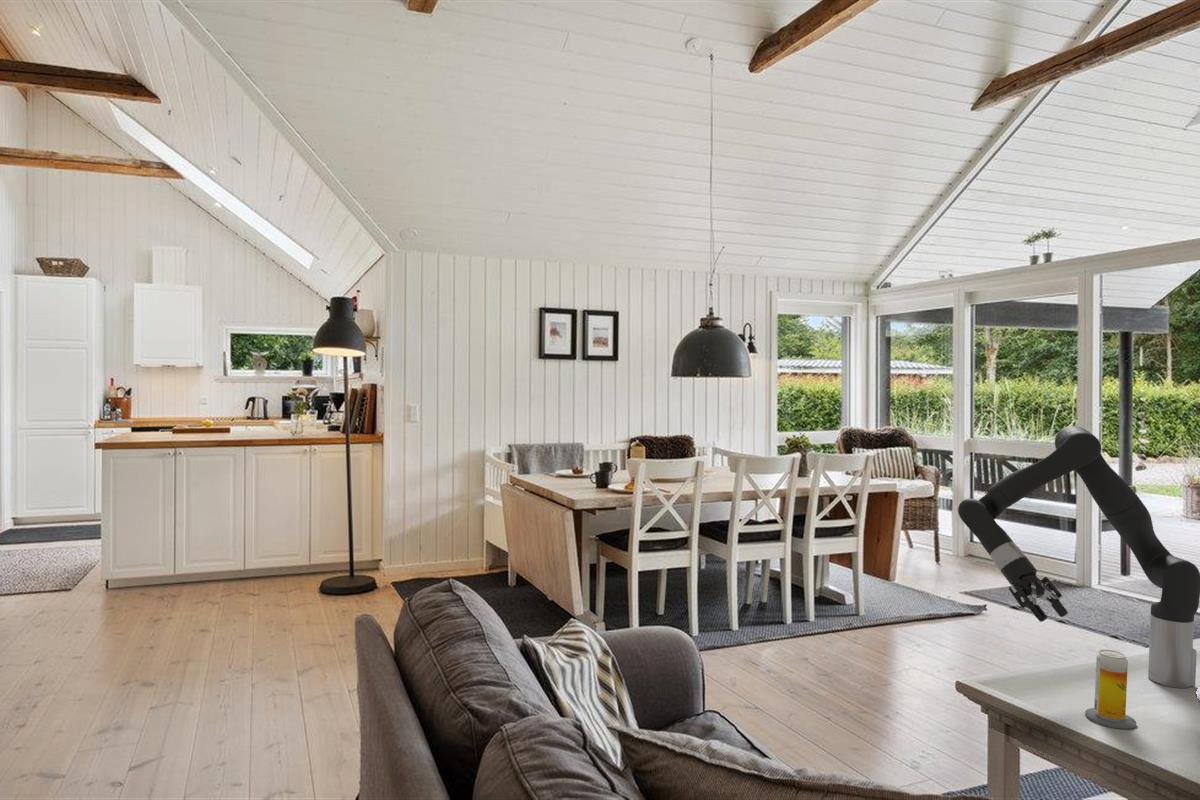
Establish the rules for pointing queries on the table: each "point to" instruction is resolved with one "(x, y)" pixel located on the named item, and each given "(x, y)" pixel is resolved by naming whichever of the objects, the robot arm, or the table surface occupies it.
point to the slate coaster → (1124, 724)
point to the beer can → (1111, 685)
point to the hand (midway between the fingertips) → (1054, 617)
